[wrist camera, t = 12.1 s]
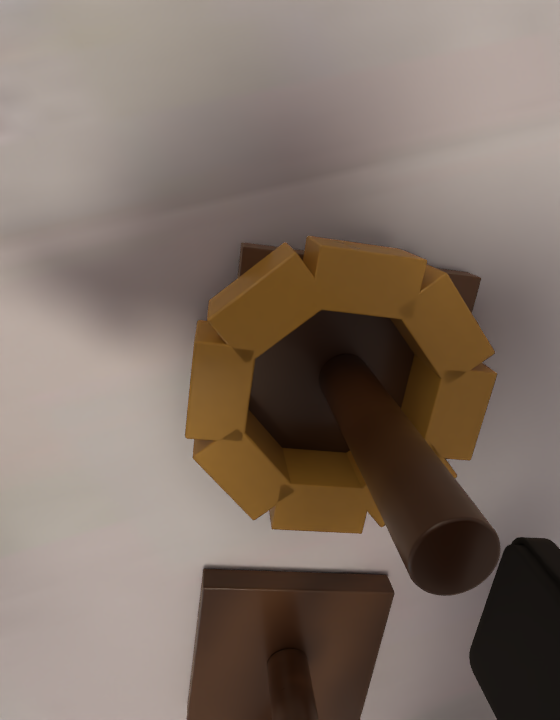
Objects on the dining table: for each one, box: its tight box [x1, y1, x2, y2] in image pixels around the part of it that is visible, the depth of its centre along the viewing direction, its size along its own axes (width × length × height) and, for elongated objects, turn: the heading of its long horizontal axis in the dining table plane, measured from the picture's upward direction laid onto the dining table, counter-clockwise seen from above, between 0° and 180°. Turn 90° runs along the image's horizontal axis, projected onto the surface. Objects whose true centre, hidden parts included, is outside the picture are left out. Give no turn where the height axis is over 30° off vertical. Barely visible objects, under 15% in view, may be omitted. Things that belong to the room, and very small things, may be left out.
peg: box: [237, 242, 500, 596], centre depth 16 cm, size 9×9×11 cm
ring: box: [185, 236, 497, 534], centre depth 19 cm, size 10×10×3 cm
